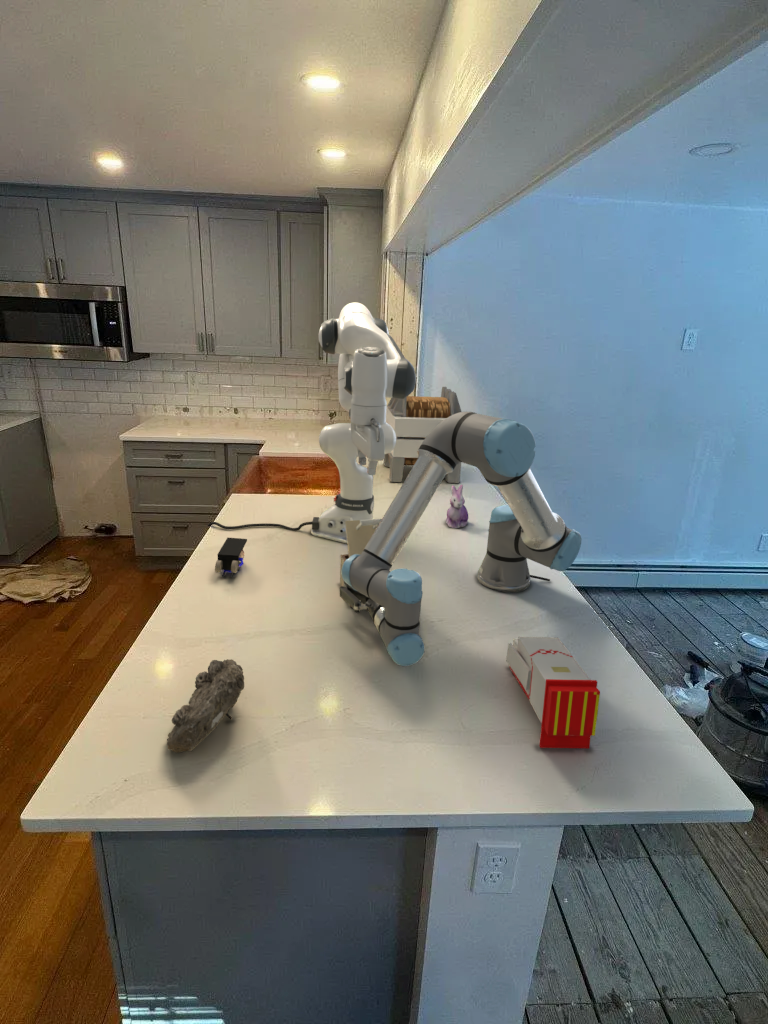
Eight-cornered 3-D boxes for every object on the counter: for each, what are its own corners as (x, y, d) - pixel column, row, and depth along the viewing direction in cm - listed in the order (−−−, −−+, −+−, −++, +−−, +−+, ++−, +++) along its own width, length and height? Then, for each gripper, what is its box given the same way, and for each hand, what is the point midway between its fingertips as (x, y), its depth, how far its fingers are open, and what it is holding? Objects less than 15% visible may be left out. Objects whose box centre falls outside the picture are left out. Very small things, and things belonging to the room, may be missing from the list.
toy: (554, 620, 129) (609, 687, 99) (549, 674, 131) (601, 755, 102) (501, 619, 128) (541, 686, 99) (497, 673, 131) (534, 754, 102)
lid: (345, 521, 150) (350, 513, 143) (381, 519, 153) (389, 511, 145) (350, 574, 147) (357, 568, 139) (388, 570, 150) (396, 565, 142)
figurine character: (238, 584, 162) (249, 557, 175) (236, 562, 158) (247, 536, 172) (215, 584, 161) (227, 556, 175) (212, 561, 158) (225, 535, 171)
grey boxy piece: (382, 463, 289) (386, 382, 275) (445, 464, 293) (451, 384, 279) (390, 482, 257) (394, 392, 243) (460, 483, 261) (468, 394, 247)
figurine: (453, 530, 205) (457, 490, 200) (438, 521, 213) (441, 482, 208) (475, 527, 209) (479, 488, 204) (459, 517, 217) (462, 480, 212)
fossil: (192, 660, 117) (244, 628, 112) (224, 691, 120) (276, 661, 115) (142, 746, 98) (202, 712, 93) (182, 779, 101) (242, 748, 96)
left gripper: (392, 423, 132) (389, 480, 137) (370, 408, 150) (368, 459, 155) (366, 423, 130) (364, 481, 135) (347, 408, 149) (346, 459, 153)
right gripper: (341, 636, 131) (324, 591, 151) (433, 625, 137) (405, 584, 157) (341, 607, 128) (324, 565, 148) (435, 598, 134) (406, 559, 154)
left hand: (366, 469), depth 145 cm, fingers open, 8 cm apart
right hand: (365, 575), depth 152 cm, fingers closed on chest, 10 cm apart
